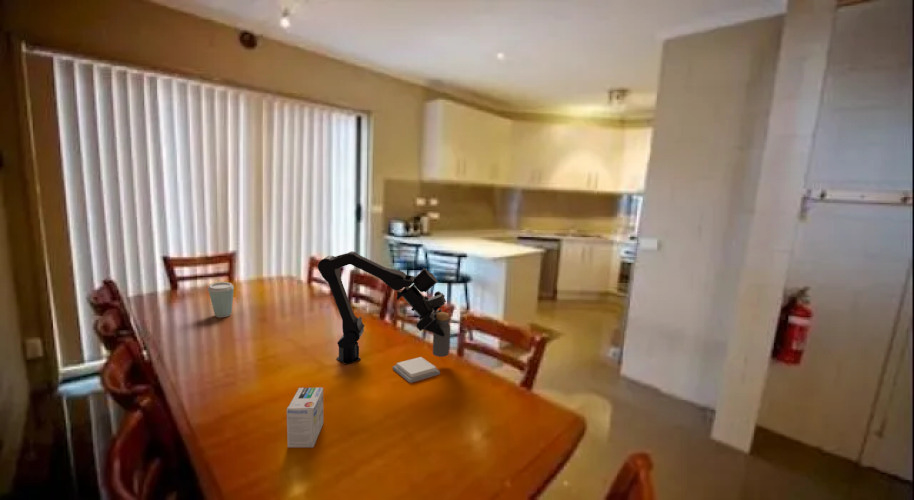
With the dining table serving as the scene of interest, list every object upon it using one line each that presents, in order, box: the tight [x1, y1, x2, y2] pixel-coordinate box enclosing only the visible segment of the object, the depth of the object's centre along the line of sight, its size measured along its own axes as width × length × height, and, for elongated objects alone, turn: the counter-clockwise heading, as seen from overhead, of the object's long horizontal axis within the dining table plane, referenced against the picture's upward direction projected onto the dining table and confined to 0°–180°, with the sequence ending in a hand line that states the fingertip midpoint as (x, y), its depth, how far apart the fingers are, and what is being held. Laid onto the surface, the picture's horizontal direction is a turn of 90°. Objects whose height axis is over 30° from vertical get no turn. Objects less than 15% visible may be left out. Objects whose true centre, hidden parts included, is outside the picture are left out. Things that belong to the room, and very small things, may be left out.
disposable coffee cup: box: [207, 281, 235, 318], centre depth 193 cm, size 11×11×15 cm
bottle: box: [432, 311, 451, 358], centre depth 151 cm, size 6×6×15 cm
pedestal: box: [392, 356, 441, 384], centre depth 147 cm, size 12×12×2 cm
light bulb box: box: [286, 387, 324, 448], centre depth 108 cm, size 11×7×11 cm, turn 5°
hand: (445, 332), depth 150 cm, fingers closed on bottle, 6 cm apart
